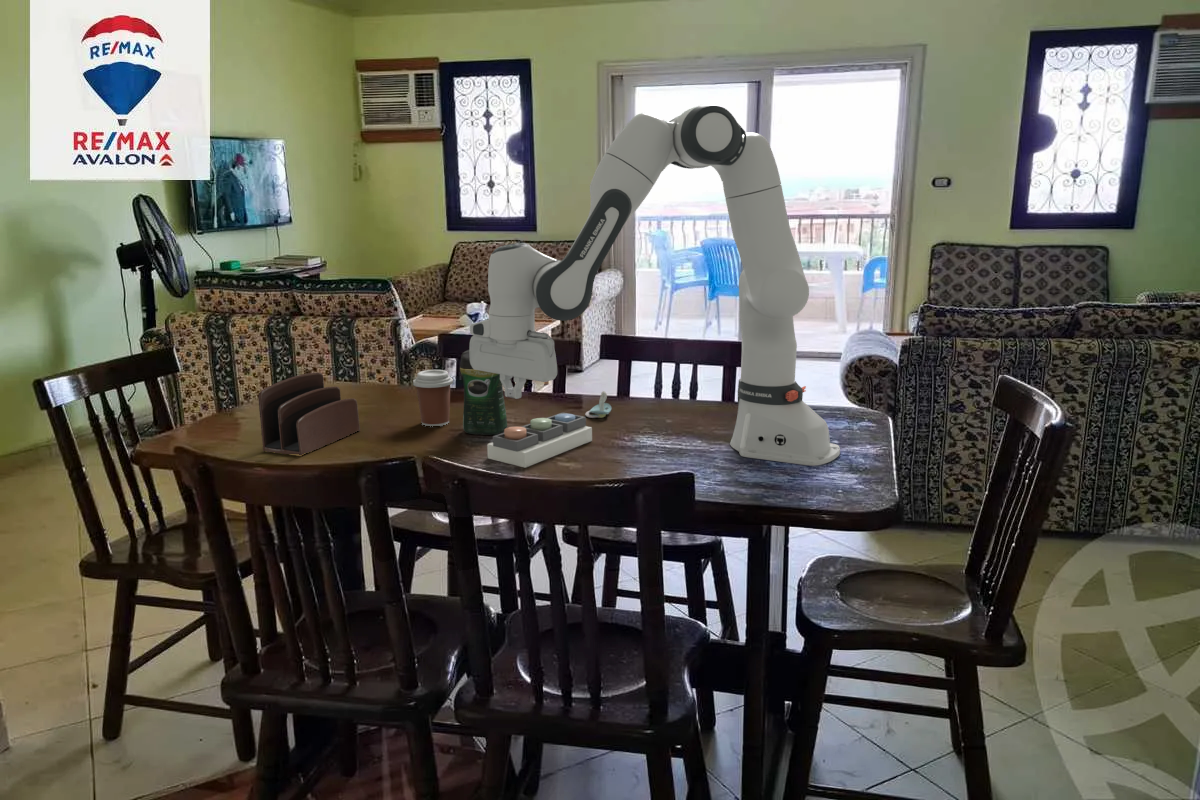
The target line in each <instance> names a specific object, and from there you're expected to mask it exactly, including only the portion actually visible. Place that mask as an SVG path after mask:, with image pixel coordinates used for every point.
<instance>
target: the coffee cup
mask: <svg viewBox="0 0 1200 800" xmlns="http://www.w3.org/2000/svg"><path fill="white" fill-rule="evenodd" d="M416 375H417V376H416V377H415V379H413V380H412V381H413V382H412V383H413V386H414V387H416V392H417V394H416V395H417V400H418V408H419V415H420V421H421V423H422V424H421V425H422V426H423V425H425V426H424V427H426V426H430V427H429V428H434V427H433V426H440V427H444V426H443V425H445V426H447V425H448V423H449V424H450V412H451V411H450V410H451V409H450V407H451V385H453V384H454V379H453V378H452V377H451V376H450V375H449V372H448V371H447V370H445V369H444V370H443V369H428V370H427V369H426V370H422V371H419V372H417V373H416ZM446 424H447V425H446ZM431 426H432V427H431Z"/></svg>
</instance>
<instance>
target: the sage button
mask: <svg viewBox="0 0 1200 800" xmlns="http://www.w3.org/2000/svg"><path fill="white" fill-rule="evenodd" d="M529 424H531V429H535V430H539V431H545V430H548V429H550V428H552V420H551V419H548V417H537V418H532V419H530V423H529Z"/></svg>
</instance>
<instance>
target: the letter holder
mask: <svg viewBox="0 0 1200 800" xmlns="http://www.w3.org/2000/svg"><path fill="white" fill-rule="evenodd" d="M324 383H325V382H324V375H323V373H321V372H311V373H310V372H309V373H304V374H298V375H295V376H292V377H289V378H286V379H283V380H281V381H278V382H276V383H273V384H271V385H268V386H267V387H265V388H264V389H262V390H261V391H260V392H259V393H258V410H259V419H260V429H261V430H260V431H261V440H262V452H264V451H267V452H266V453H268V452H275V453H282V454H281V455H283V454H299V455H302V454H304V453H308V452H311V451H313V450H316V449H318V450H320V449H322V448H321V447H323V446H325V445H327V444H329V445H331V444H330V443H332V442H334V441H336V442H338V441H337V440H339V439H341V440H343V439H345V438H344V437H346V436H348V435H350V434H353V433H355V432H357V431H359V432H361V425H360V418H359V409H358V407H359V406H358V401H357V399H355V398H345V399H344V398H343V399H342V398H341V389H340V388H339V386H326V387H325V384H324ZM357 433H358V432H357ZM355 434H356V433H355ZM353 435H354V434H353ZM350 436H351V435H350ZM348 437H349V436H348ZM342 438H343V439H342ZM346 438H347V437H346ZM339 441H340V440H339ZM334 443H335V442H334ZM332 444H333V443H332ZM327 446H328V445H327ZM325 447H326V446H325ZM319 448H320V449H319ZM323 448H324V447H323ZM316 451H317V450H316ZM313 452H314V451H313ZM275 453H274V454H275ZM311 453H312V452H311Z"/></svg>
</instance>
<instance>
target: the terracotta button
mask: <svg viewBox="0 0 1200 800" xmlns="http://www.w3.org/2000/svg"><path fill="white" fill-rule="evenodd" d="M503 433H504V437H505V438H507V439H512V440H520V439H523V438H525V437H527V435H526V428H524V427H522V426H509V427H508V426H507V428H506V429H504V432H503Z"/></svg>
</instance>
